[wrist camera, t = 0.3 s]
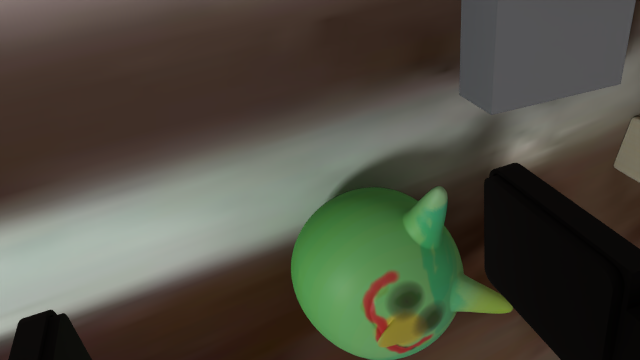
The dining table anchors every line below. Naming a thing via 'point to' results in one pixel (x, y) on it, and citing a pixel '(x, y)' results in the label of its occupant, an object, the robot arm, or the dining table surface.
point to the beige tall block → (630, 151)
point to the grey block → (540, 49)
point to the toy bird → (384, 273)
